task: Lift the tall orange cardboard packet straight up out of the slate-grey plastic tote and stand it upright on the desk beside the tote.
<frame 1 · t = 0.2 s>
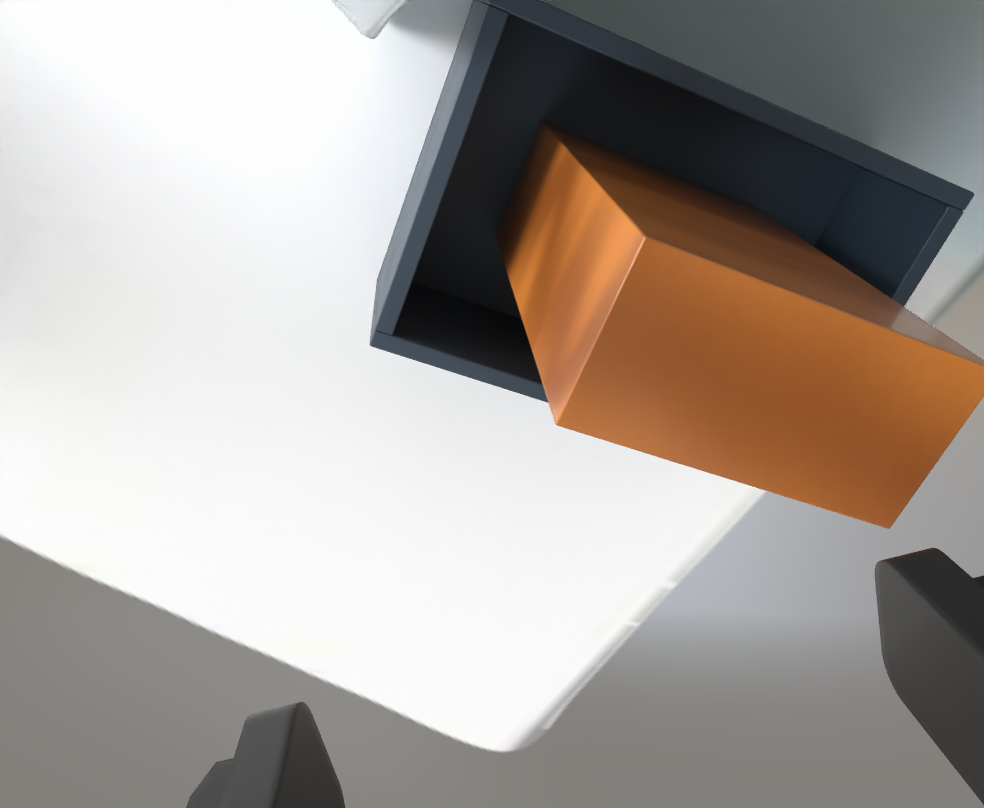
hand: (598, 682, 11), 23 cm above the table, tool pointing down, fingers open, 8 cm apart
tote: (622, 218, 32), on the table
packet: (625, 221, 32), resting on tote
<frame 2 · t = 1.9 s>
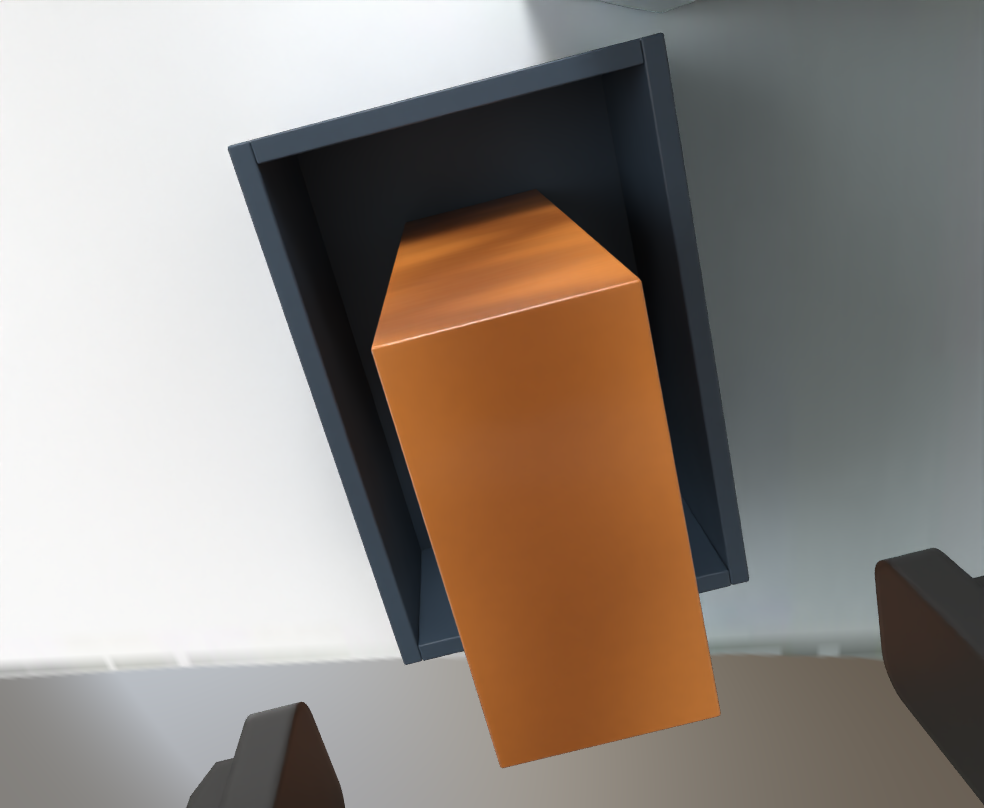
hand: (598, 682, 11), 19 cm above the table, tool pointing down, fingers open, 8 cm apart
tote: (501, 329, 29), on the table
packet: (502, 333, 29), resting on tote
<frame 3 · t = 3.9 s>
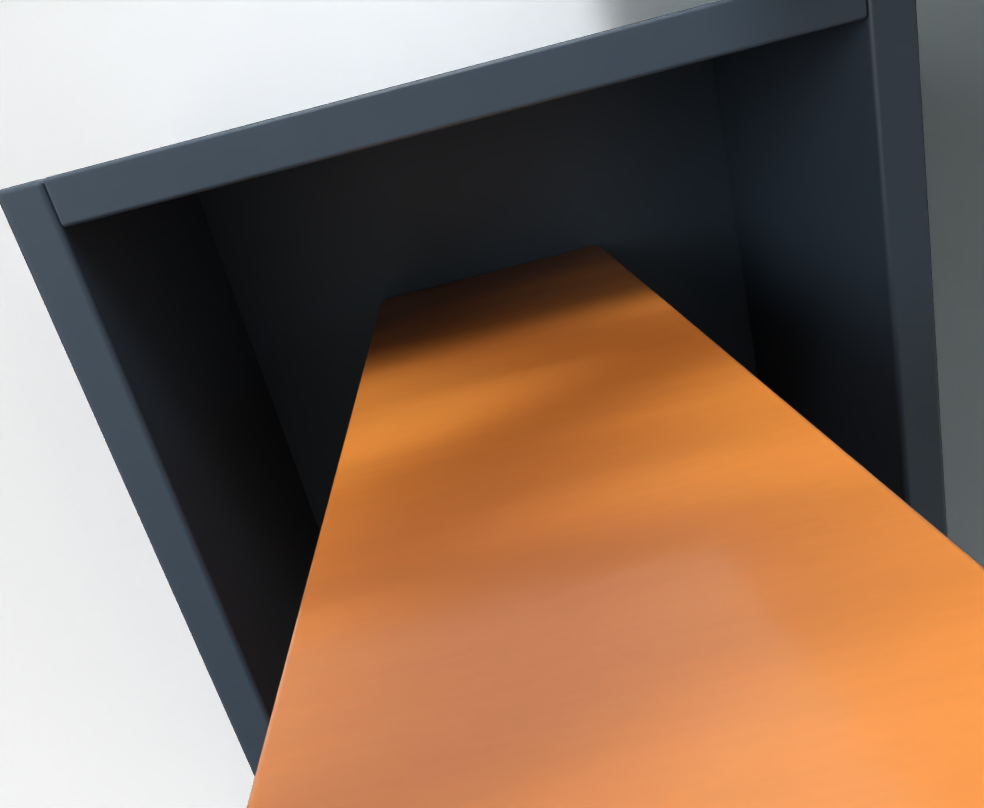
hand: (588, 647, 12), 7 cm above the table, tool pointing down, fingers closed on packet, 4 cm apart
tote: (536, 460, 19), on the table
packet: (538, 470, 18), point 1 cm above the table, touching gripper, tote
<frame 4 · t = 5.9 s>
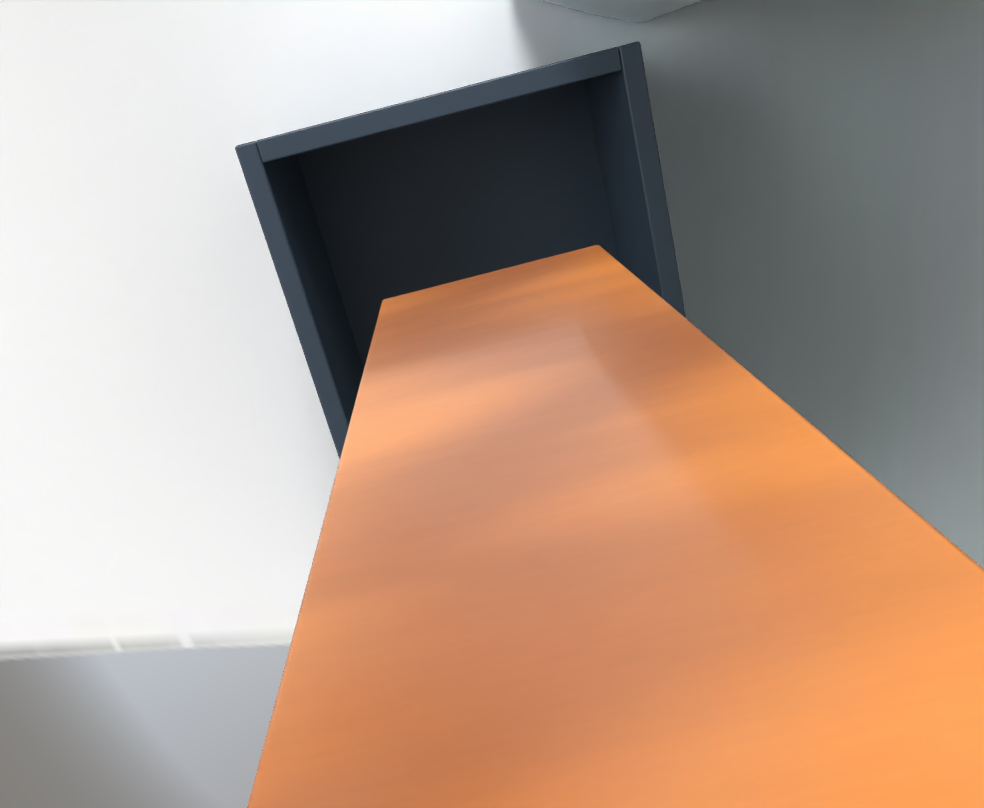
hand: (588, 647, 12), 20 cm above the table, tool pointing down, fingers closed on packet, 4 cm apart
tote: (491, 322, 31), on the table
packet: (538, 469, 18), point 14 cm above the table, touching gripper
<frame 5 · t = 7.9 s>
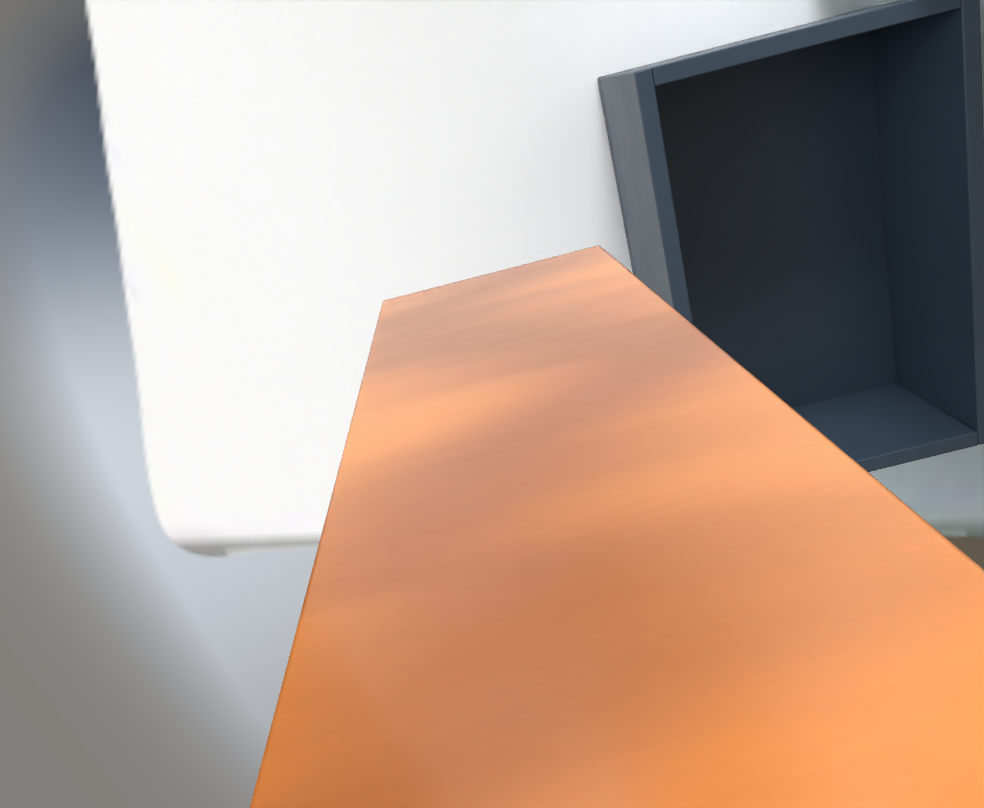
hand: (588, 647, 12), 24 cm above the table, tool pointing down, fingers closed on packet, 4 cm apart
tote: (762, 244, 35), on the table
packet: (539, 470, 18), point 18 cm above the table, touching gripper
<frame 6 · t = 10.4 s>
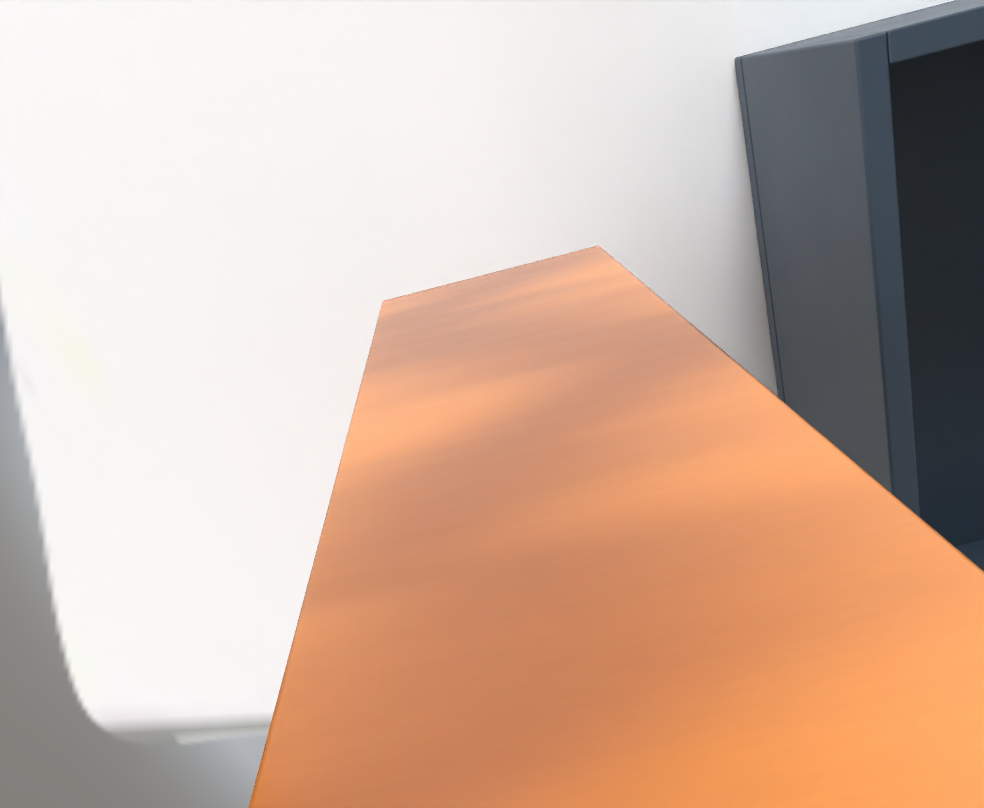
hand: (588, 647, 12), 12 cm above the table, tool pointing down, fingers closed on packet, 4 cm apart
tote: (963, 306, 24), on the table
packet: (539, 470, 18), point 6 cm above the table, touching gripper
when the fingers open (6 cm above the table, at t = 12.2 s): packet stays where it is, on the table.
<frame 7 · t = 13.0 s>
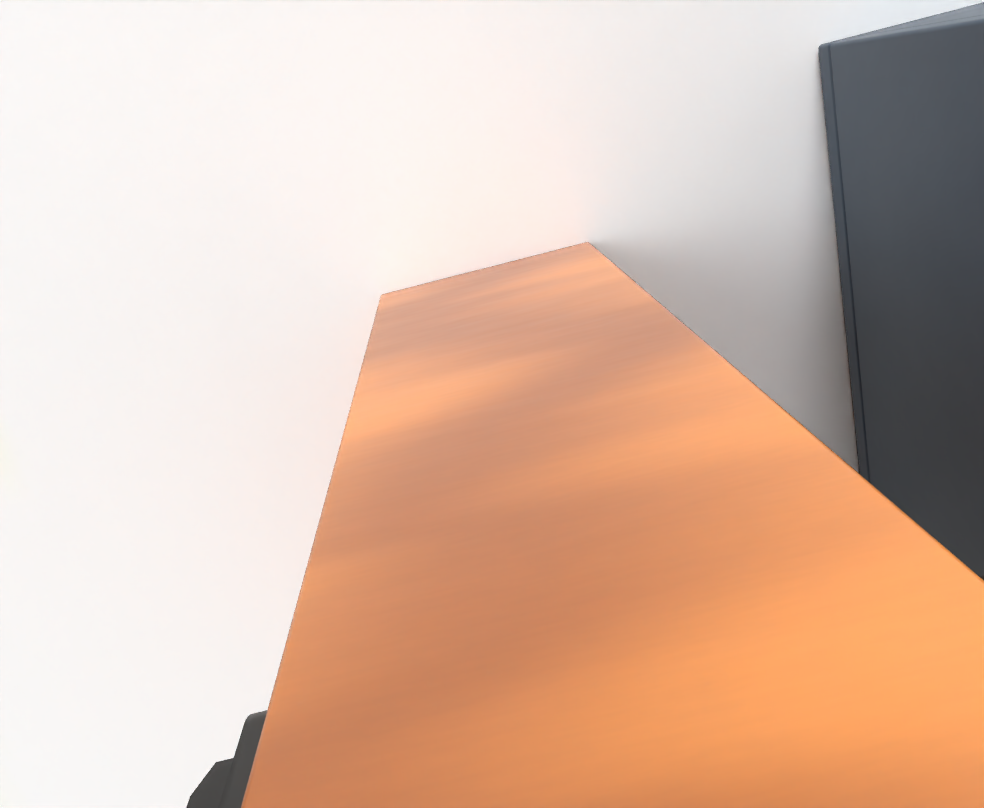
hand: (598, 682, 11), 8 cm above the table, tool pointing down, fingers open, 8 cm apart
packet: (531, 459, 19), on the table
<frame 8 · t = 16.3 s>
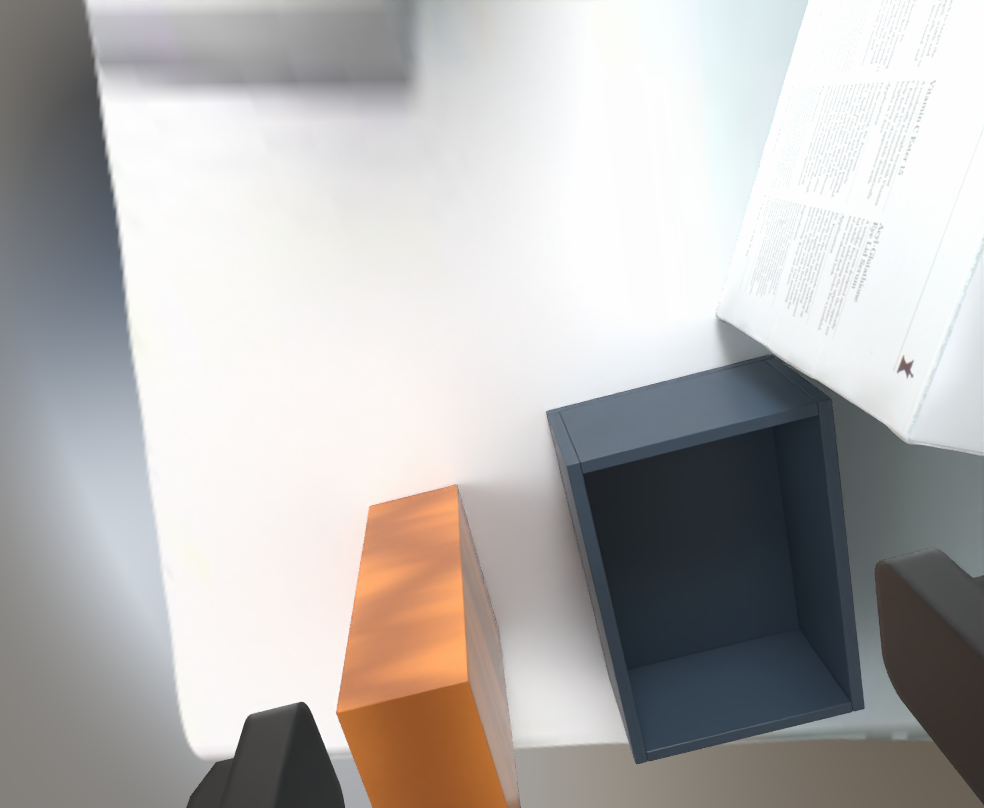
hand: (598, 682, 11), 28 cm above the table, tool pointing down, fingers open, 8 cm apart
skincare box: (837, 96, 36), on the table
tote: (684, 526, 43), on the table
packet: (436, 571, 43), on the table
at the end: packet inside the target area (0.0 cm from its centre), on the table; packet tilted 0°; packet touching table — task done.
